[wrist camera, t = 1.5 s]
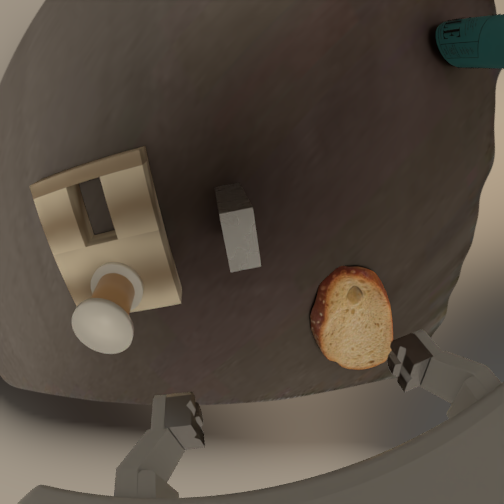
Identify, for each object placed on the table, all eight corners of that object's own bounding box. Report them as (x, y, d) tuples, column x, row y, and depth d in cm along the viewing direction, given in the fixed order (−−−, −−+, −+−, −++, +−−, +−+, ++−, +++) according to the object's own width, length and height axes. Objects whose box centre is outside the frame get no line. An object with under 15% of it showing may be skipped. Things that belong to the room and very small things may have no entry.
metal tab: (214, 187, 29) (219, 213, 22) (239, 182, 29) (252, 207, 22) (223, 233, 31) (230, 272, 24) (246, 228, 31) (261, 266, 24)
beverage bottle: (460, 74, 26) (589, 94, 8) (426, 59, 25) (570, 66, 7) (458, 32, 23) (582, 34, 5) (423, 14, 22) (558, -1, 4)
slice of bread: (377, 362, 47) (386, 377, 43) (283, 364, 42) (289, 383, 39) (426, 274, 39) (440, 287, 36) (328, 257, 35) (340, 273, 32)
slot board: (43, 178, 25) (29, 186, 22) (145, 145, 26) (139, 149, 23) (90, 304, 32) (83, 319, 29) (182, 288, 33) (181, 303, 30)
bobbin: (84, 267, 27) (61, 308, 21) (133, 256, 27) (117, 298, 21) (104, 311, 29) (88, 356, 23) (150, 303, 30) (142, 350, 24)
